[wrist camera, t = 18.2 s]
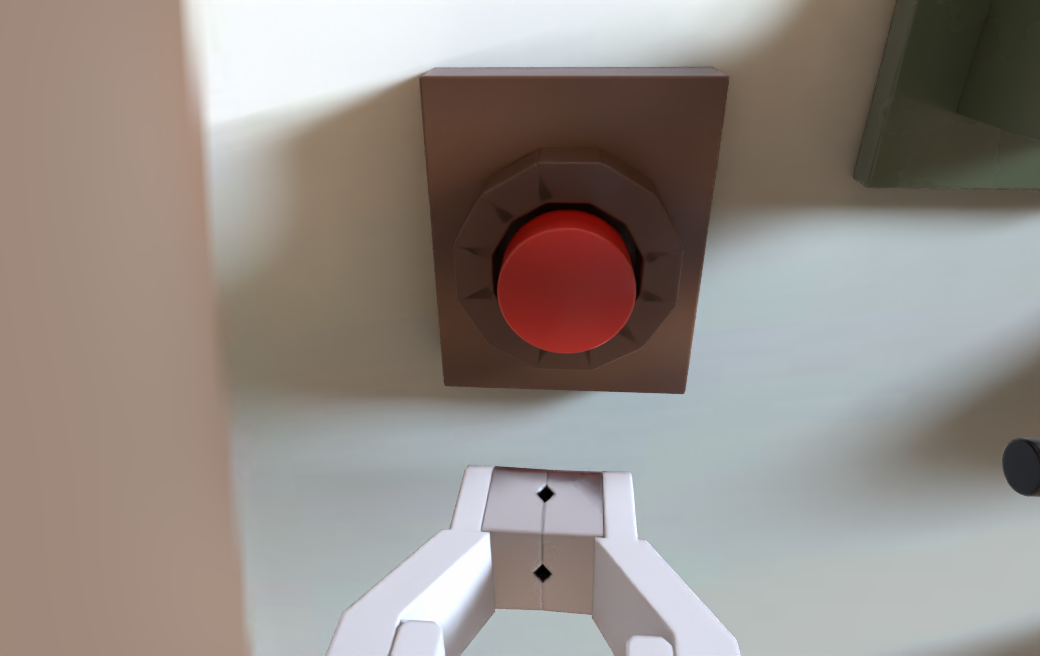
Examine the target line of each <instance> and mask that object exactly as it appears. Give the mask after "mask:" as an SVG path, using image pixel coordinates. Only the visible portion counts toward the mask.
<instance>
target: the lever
mask: <svg viewBox="0 0 1040 656" xmlns="http://www.w3.org/2000/svg"><path fill="white" fill-rule="evenodd" d="M1002 465H1003V471H1004V475H1005V478H1006V480H1007V482H1008V483H1009V485H1010V486H1011V487H1012V489H1014V490H1015V491H1016V492H1017V493H1019V494H1021V495H1024V496H1031V497H1040V438H1017V439H1014V440H1012V441H1011V442H1009V443H1008V445H1007V446H1006V448H1005V450H1004V453H1003V458H1002Z"/></svg>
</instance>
